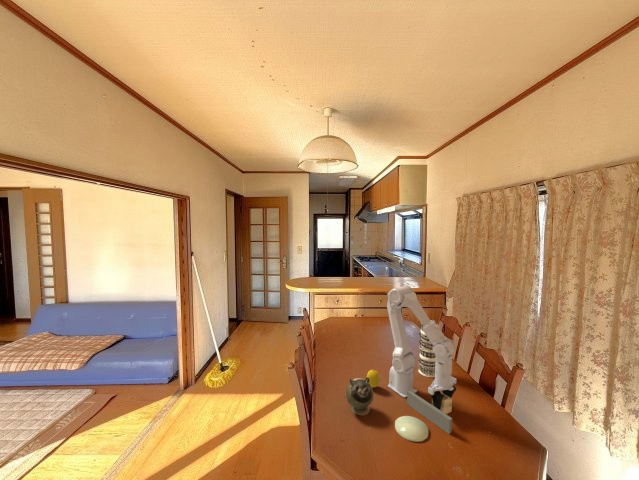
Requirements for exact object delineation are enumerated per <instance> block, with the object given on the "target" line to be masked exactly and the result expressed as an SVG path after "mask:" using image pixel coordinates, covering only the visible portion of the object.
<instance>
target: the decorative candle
mask: <svg viewBox="0 0 639 480" xmlns="http://www.w3.org/2000/svg"><path fill="white" fill-rule="evenodd" d="M430 321H433V322H435V323H436V324H438V325H439V326H440V324H439V323H438V322H437V321H436V320H434V319H430ZM422 328H423V325H422V323H421V322H420V331H419V333H418V336H419V338H418V339H419V341H418V343H419V345H418V346H419V349H420V351H419V356H418V368H417V369H418V373H419V374H420V375H422V376H424V377H427V378H435V359H436V356H435V354H434V352H433V348H434V346H433V345H432V343H433V342H432V343H431V342H430V340H429V339H428V337H427V336H426V334H425V333H424V331H423V330H422Z"/></svg>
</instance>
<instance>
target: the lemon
mask: <svg viewBox="0 0 639 480" xmlns="http://www.w3.org/2000/svg"><path fill="white" fill-rule="evenodd" d="M367 377H368V378H369V380H370V382H369V384H370V385H371V387H372V389H374V388H376V387H378V386H379V384H380V380H381V379H380V373H379V372H378V371H377V370H375V369H370V370H368V372H367V375H366V378H367Z"/></svg>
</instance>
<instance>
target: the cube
mask: <svg viewBox="0 0 639 480" xmlns="http://www.w3.org/2000/svg"><path fill="white" fill-rule="evenodd" d="M440 392H441V391H440ZM441 394H443V392H441ZM443 395H444V397H443V399H442V402H441V408H440V411H442V412H443V413H445V414H446V415H448V414H450V413H451V412H452V407H453V397H452V398H450V397H448V396H447V395H445V394H443ZM431 405H433V406H434V404H433V400H432V399H431Z"/></svg>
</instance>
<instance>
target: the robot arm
mask: <svg viewBox="0 0 639 480" xmlns="http://www.w3.org/2000/svg"><path fill="white" fill-rule="evenodd" d="M386 295H387V304H386V308H387V312H388V319H389V323H390V329H391V333H392V334H391V335H392V338H393V343H394V350H393V352H392V362H391V364H392V366H391V367H390V369H389V378H388V379H389V381H388V384H387V387H388V388H389V389H391V390H392V391H394V392H395V393H397V394H398V395H400V396H401V397H402V398H407V393H408V391H411V392H413V393H415V394H417V392H418V390H417V389H416V388H414V387H413V383H414V366H416V364H417V362H418V361H417V356H416V355H415V354H414V351H413V348H412V347H410V346H409V343H408V339H407V338H408V337H407V332H406V328H405V323H404V318H403V315H402V308H403V307H405V308H409V309H410V311H411V312H412V313H413V314H414V315H415V317H416V318H417V320H418V321H419V323H420V324H421V323H422V325H423V328H422V330H423V331H424V333H425V334H426V336H427V337H428V339H429V340H430V342H431V343H432V342H433V343H432V345H433V346H434V348H433V352H434V354H435V356H436V359H435V377H434V380H433V381H432V383H431V385H430V386H428V387H427V393H428V394H429V395H430V397H431V401H432V400H433V404H434V407H436V408H437V409H439V410H440V408H441V402H442V399H443V397H444V395H443V394H445V395H447V396H448V397H450V398H452V399H453V395H454V394H455V392H456V391H457V387H456V386H454V385H456V384H457V378H455V377H454V376H452V373H453V371H452V370H453V369H452V368H453V354H454V353H455V351H456V346H455V344H454V342H453V340H452V339H450V338H448V337H447V336H445V334H444V333H443V332H442V330H441V328H440V324H439V323H437V324H436V323H435V322H433V321H430V320H431V319H430V318H429V316H428V315H427V313H426V311H425V309H424V308H423V306H422V305H421V303H420V302H419V300H418V297H417V294H416V292H415V291H414V290H413V288H412V287H411V286H410V285H406V284H405V285H402V286H399V287H396V288H395V287H394V288H392V289H391V290H389V292H388V293H387V294H386ZM438 324H439V325H438ZM441 391H442V393H443V394H441Z"/></svg>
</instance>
